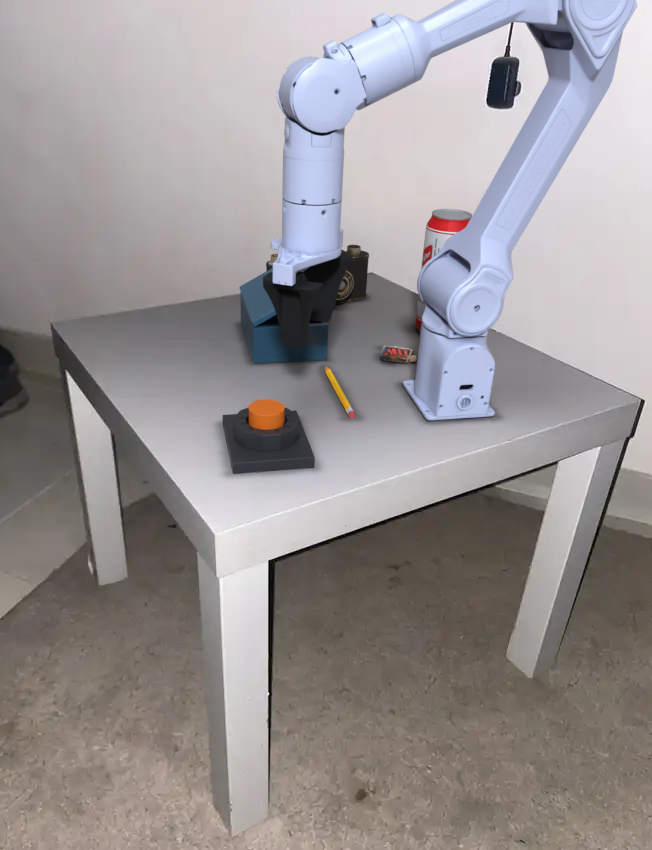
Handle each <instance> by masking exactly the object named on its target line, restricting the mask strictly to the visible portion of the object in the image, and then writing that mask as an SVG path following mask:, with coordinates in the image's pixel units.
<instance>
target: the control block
mask: <svg viewBox="0 0 652 850" xmlns="http://www.w3.org/2000/svg"><path fill="white" fill-rule="evenodd" d="M222 427H223V433H224V437H225V442H226V448H227V452H228V456H229V462H230V467H231V472H232V474H235V475H236V474H248V473H260V472H273V471H274V472H275V471H286V470H287V471H288V470H301V469H302V470H303V469H314V468H315V461H316V460H315V459H316V457H315V454H314V452H313V449H312V446H311V444H310V442H309V438H308V436H307V434H306V431H305V429H304V428H305V427H304V425H303V423H302V421H301V419H300V415H299V413H298V411H297V410H292V409H289V408H288V407H285V421H284V425H283V426H282V427H279V428H277V429H269V430H263V429H258V428H253V427H251V426H250V425H249V406H248V407H246V408H243V409H240V410H239V411H238V412H237V413H231V414H222Z"/></svg>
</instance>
